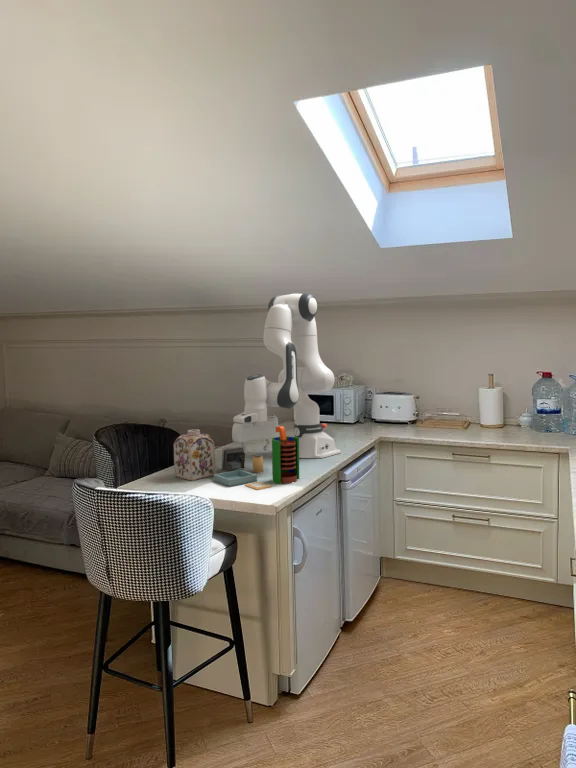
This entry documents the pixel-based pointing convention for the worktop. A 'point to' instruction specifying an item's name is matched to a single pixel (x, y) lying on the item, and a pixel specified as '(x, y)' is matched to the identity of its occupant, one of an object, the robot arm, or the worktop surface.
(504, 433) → the worktop surface
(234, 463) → the grey block
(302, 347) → the robot arm
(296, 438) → the motor
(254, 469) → the orange part
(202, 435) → the decorative jar
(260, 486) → the tag
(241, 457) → the electrical switch
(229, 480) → the tray
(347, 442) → the worktop surface
